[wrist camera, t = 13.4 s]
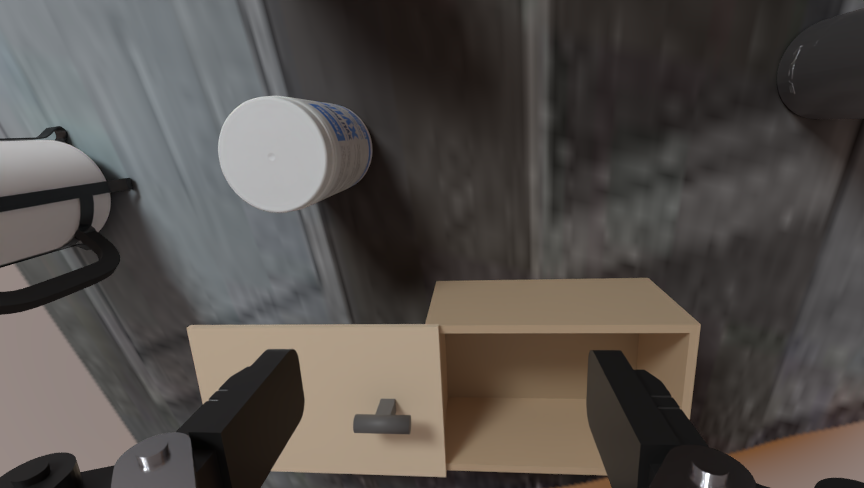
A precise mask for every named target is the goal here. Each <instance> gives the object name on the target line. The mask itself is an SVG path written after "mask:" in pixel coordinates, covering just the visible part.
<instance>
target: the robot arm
mask: <svg viewBox="0 0 864 488" xmlns="http://www.w3.org/2000/svg"><path fill="white" fill-rule="evenodd" d="M777 86H778V91H779V95H780V97H781V99H782V101H783V102H784V104H785V105H786V106H787V107H788V108H789V109H790V110H791V111H792V112H794V113H795V114H797V115H799V116H802V117H804V118H809V119H864V8H862V9H858V10H855V11H852V12H849V13H845V14H842V15H839V16H836V17H832V18H829V19H826V20H823V21H820V22H818V23H816V24H814V25H812V26H810V27H808V28H807V29H806V30H804V31H803V32H801V33H800V34H799V35H798V36H797V37H796V38H795V39H794V40H793V41H792V42H791V44H790V45H789V47H788V48H787V49H786V51H785V52H784V55H783V57H782V59H781V61H780V64H779V68H778V72H777ZM304 405H305V398H304V391H303V384H302V378H301V371H300V364H299V358H298V354H297V352H296V350H294V349H267V350H266V351H264V353H263V354H262V355H261V356H260V357H259V358H258V359H257V360H256V361H255V362H254V363H253V364H252V365H251V366H250V367H246V368H244V369H243V370H241V371H239V372H238V373H236V374H234V375H233V376H231V377H230V378H229V379H228V380H227V381H226V382H225V383H224V384H223V385H222V386H221V387H220V388H219V390H218V391H216V392H215V393H214V394H213V395H212V396H211V397H210V398H209V401H206V402H205V403H204V404H203V405H202V406H201V407H200V408H199V409H198V410H197V411H196V412H195V413H194V414H193V415H192V416H191V417H190V418H189V419H188V420H187V421H186V422H185V423H184V424H183V425H182V426H181V427H180V428H179V429H178V430H177V431H176V432H170V433H164V434H159V435H156V436H153V437H150V438H148V439H145V440H143V441H141V442H139V443H138V444H136V445H134V446H133V447H131V448H130V449H129V450H127V451H126V452H125V453H124V454H123V455H122V456H121V457H120V458H119V459H118V460H117V462H116V464H115V465H114V466H110V467H104V468H100V469H94V470H89V471H84V472H80V470H79V467H78V464H77V460H76V458H75V456H74V455H72V454H69V453H54V454H49V455H45V456H41V457H38V458H35V459H33V460H30V461H28V462H26V463H24V464H22V465H19V466H18V467H16V468H14V469H12V470H11V471H9V472H7V473H6V474H4V475H3V476H2V477H0V488H261V486H262V484H263V483H264V481H265V479H266V478H267V476H268V474H269V473H270V471H271V469H272V468H273V466H274V464H275V463H276V461H277V459H278V458H279V456H280V454H281V453H282V451H283V449H284V448H285V446H286V444H287V443H288V441H289V439H290V438H291V436H292V434H293V433H294V431H295V429H296V428H297V426H298V424H299V423H300V421H301V419H302V416H303V412H304ZM586 408H587V418H588V423H589V427H590V430H591V433H592V435H593V438H594V441H595V443H596V446H597V449H598V451H599V454H600V457H601V460H602V462H603V465H604V468H605V470H606V473H607V476H608V478H609V481H610V484H611V487H612V488H769V487H766V486H762V485H759V484H757V483H756V482H755V480H754V478H753V476H752V475H751V473H750V472H749V471H748V470H747V469H746V468H745V467H744V466H743V465H742V464H741V463H740V462H738V461H737V460H735V459H734V458H732V457H731V456H729V455H727V454H725V453H723V452H721V451H718V450H716V449H713V448H710V447H708V445H707V444H706V443H705V441H704V440H703V438H702V437H701V436H700V434H699V433H698V431H697V430H696V429H695V427H694V426H693V424H692V423H691V422H690V420H689V419H688V417H687V416H686V415H685V413H684V412H683V411H682V409H680V406H679V405H678V404H677V402H676V401H675V399H674V398H672V397H671V394H670V392H669V391H668V390H667V388H666V387H665V385H664V384H663V383H662V381H660V380H659V379H657V378H656V377H655V376H653V375H652V374H650V373H649V372H647V371H646V370H633V368H632V367H631V365H630V363H629V362H628V360H627V359H626V357H625V356H624V354H623V352H622V351H621V350H590V352H589V356H588V373H587V397H586ZM814 488H864V483H862V482H859V481H855V480H850V479H844V478H827V479H823V480H821V481H819V482H818V483H817V484H816V485H815V487H814Z"/></svg>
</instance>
